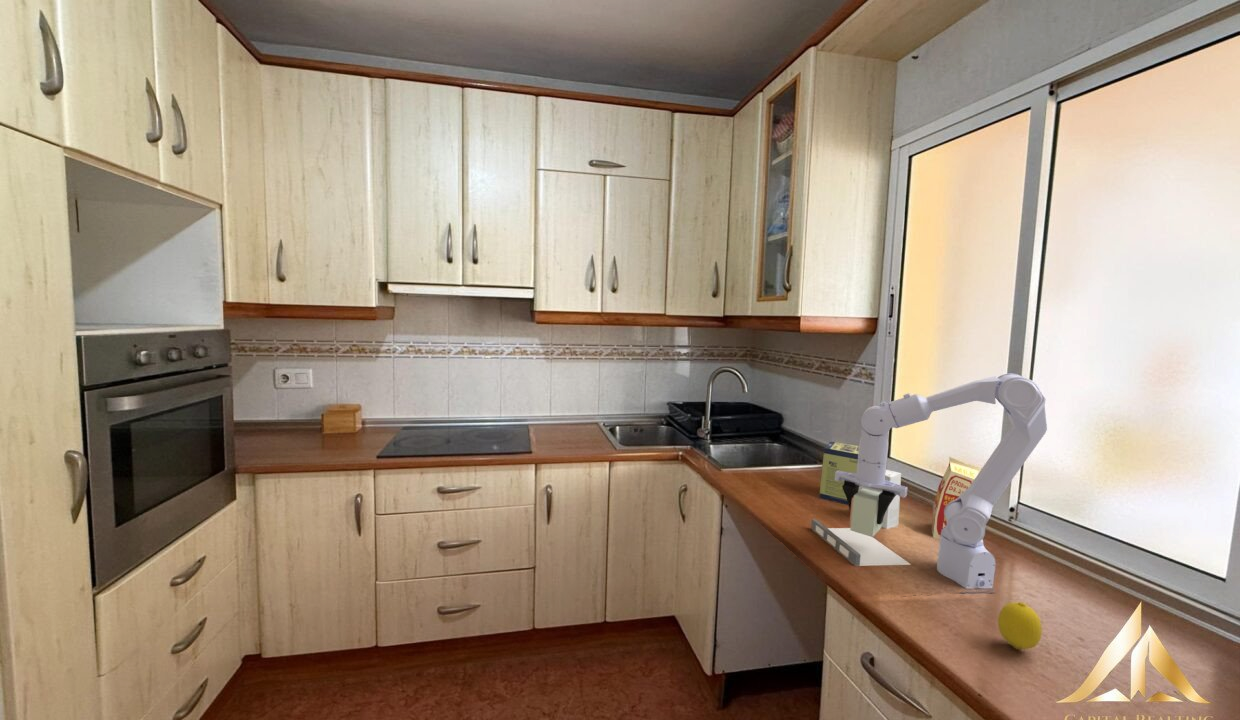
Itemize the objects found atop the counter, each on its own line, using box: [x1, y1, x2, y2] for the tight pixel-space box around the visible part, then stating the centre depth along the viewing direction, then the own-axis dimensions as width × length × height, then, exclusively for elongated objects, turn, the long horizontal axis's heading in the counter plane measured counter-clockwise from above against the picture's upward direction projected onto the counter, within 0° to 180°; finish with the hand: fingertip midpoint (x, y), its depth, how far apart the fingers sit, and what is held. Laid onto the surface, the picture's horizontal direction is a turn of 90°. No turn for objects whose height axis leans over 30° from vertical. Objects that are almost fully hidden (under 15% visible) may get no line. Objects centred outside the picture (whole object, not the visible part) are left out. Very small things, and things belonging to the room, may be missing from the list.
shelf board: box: [810, 518, 912, 567], centre depth 114 cm, size 18×13×4 cm
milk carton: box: [931, 456, 983, 540], centre depth 124 cm, size 9×9×20 cm
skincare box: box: [859, 469, 902, 530], centre depth 128 cm, size 8×6×15 cm
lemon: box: [997, 601, 1043, 650], centre depth 81 cm, size 6×6×8 cm
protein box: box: [818, 441, 859, 505], centre depth 146 cm, size 10×16×16 cm
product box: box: [849, 488, 882, 538], centre depth 111 cm, size 5×7×8 cm
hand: (865, 518), depth 111 cm, fingers closed on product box, 5 cm apart
